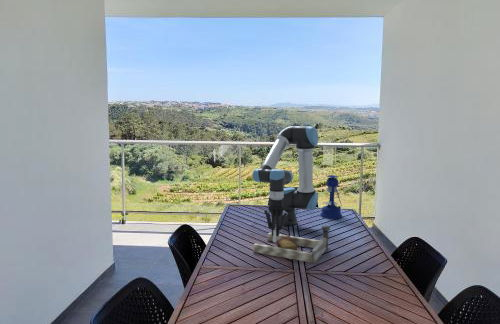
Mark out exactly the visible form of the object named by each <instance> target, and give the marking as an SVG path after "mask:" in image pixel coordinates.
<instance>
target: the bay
mask: <svg viewBox="0 0 500 324" xmlns="http://www.w3.org/2000/svg"><path fill="white" fill-rule="evenodd" d="M330 230H331V227H330V225H321V231H322V238H321V239H320V240H319V239H314V238H308V237H307V238H304V237H300V236H295V235H293V236H292V235H289V236H290V237H291V238H292V242H293V243H294V244H296V245H297V246H300V247H306V248H312V250H311V252H309V251H301V250H298V249H297V250H291V249H285V248H279V247H278V246H273V245H268V244H267V245H266V244H261V243H254V244H253V249H252V251H253V253H258V254H263V255H268V256H273V257H279V258H286V259H290V260H295V259H296V260H295V261H301V262H306V263H307V262H308V263H311V264H317V262H318V261H319V259H320V258H321V257H322V255H323V254H324V252H325V251H326V249H328V248H329V232H330ZM284 236H288V234H287V235H286V234H281V233H279V236H278V240H279V239H280V238H282V237H284ZM267 241H268V242H269V241H270V242H273V235H272V232H268V233H267Z"/></svg>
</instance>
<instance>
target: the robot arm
mask: <svg viewBox="0 0 500 324" xmlns="http://www.w3.org/2000/svg"><path fill="white" fill-rule="evenodd" d="M318 143H319V133H318V131H317V129H316V127H314V126H309V125H305V126H304V125H290V126H288V127H285V128H283V129H282V130H281V131H279V133H278V134H276V136H275V138H274V143H273V144H272V146H271V148H270V150H269V152H268V153H267V155H266V157H265V159H264V160H263V163H262V165H261V166H260V168H258V167H257V168H255V169H254V170H253V171H252V179H253V181H254V182H257V183H263V184H264V183H266V184H269V200H268V204H269V205H268V208H267V209H265V210H264V214H265V216H266V222H267V227H268V228H269V229H271V233H272V235H273V241H272V242H273V243H277V241H278V236H279V234H280V231H281V230H283V229H284V226H293V225H296V224H297V223H298V218H297V215H296V212H295V210H296V209H297V210H306V211H314V210H315V209H316V207H317V205H318V201H319V200H318V199H319V194H318V192H316V189H315V187H313V185H314V183H313V180H314V178H313V166H314V165H313V161H314V160H313V157H314V156H313V154H314V153H313V150H315V149H316V146H317V145H318ZM290 145H294V146H295V145H296V146H295V148H296V149H297V150H298V187H297V188H295V187H292V186H291V187H285V185H289V184H290V183H291V182H292V181H293V180H294V174H293V172H292V171H290V170H288V169H287V170H286V169H282V168H276V167H277V165H278V163H279V161H280V160H281V158H282V155H283V153H284V151H285V150H286V149H287V148H288V147H289V146H290Z"/></svg>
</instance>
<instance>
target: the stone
mask: <svg viewBox="0 0 500 324" xmlns="http://www.w3.org/2000/svg"><path fill="white" fill-rule="evenodd" d="M287 235H288V234H287ZM290 236H291V235H288V236H284V237H282V238H280V239H279V240H278V241H277V242H276V247H279V248H285V249H291V250H297V251H298V245H296V244H294V243H293V242H292V238H291V237H290Z"/></svg>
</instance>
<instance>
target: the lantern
mask: <svg viewBox="0 0 500 324" xmlns="http://www.w3.org/2000/svg"><path fill="white" fill-rule="evenodd" d="M326 177H327V179H326V184H325V186H326V187H327V188H326V190H325V191H326V192H328V193H329V194H327V193H324V195H325V196H326V198H327V199H329V200H328V201H326V202H324V203H325V204H326V205H324V206H323V207H321V212H320V214H319V216H320V217H321V218H324V219H328V220H339V219H342V217H343V214H342V213H341V210H342V209H341V208H342V207H343V205H342V202H341V198H340V194H338V192H339V189H337V188H338V187H340V185H339V179H338V178H339V176H338V175H334V174H328V175H326ZM335 193H336V195H335ZM328 196H329V197H328ZM336 198H338V200H339V203H338V202H335V201H336V200H335V199H336ZM339 204H340V205H339Z"/></svg>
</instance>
